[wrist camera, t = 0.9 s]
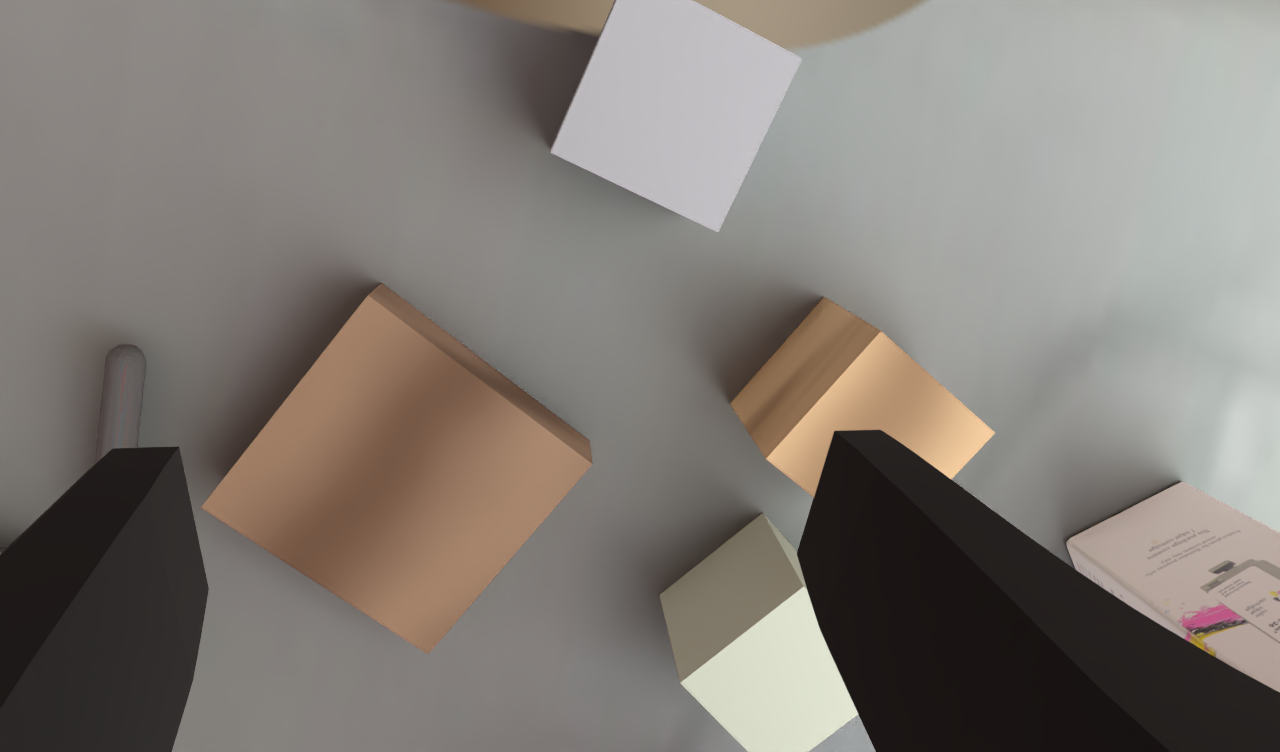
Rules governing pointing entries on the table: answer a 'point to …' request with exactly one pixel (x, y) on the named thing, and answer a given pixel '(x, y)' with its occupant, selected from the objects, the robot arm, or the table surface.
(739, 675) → the sage block
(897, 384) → the oak block
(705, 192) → the slate block
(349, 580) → the tan flat block
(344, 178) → the table surface
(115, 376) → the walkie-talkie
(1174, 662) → the robot arm
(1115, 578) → the ink cartridge box
